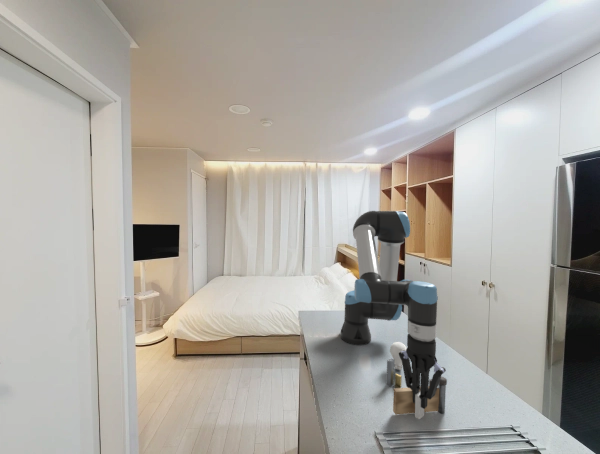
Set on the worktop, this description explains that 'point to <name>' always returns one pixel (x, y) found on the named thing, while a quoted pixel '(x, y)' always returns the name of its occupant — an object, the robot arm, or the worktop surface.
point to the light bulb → (397, 354)
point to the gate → (405, 400)
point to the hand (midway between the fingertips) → (419, 415)
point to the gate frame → (399, 379)
